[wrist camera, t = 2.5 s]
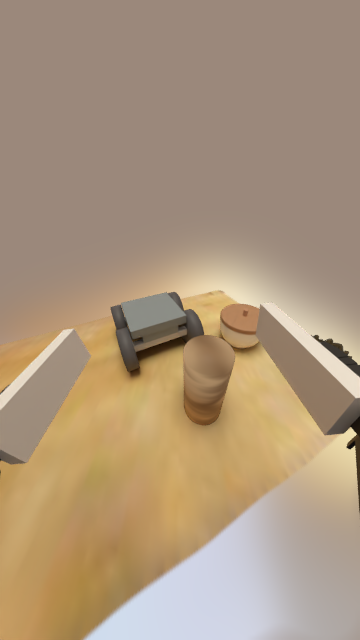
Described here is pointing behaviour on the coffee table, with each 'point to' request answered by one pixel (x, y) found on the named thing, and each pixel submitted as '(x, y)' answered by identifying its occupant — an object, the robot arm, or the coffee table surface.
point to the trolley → (152, 324)
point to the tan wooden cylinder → (206, 377)
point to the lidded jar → (239, 325)
